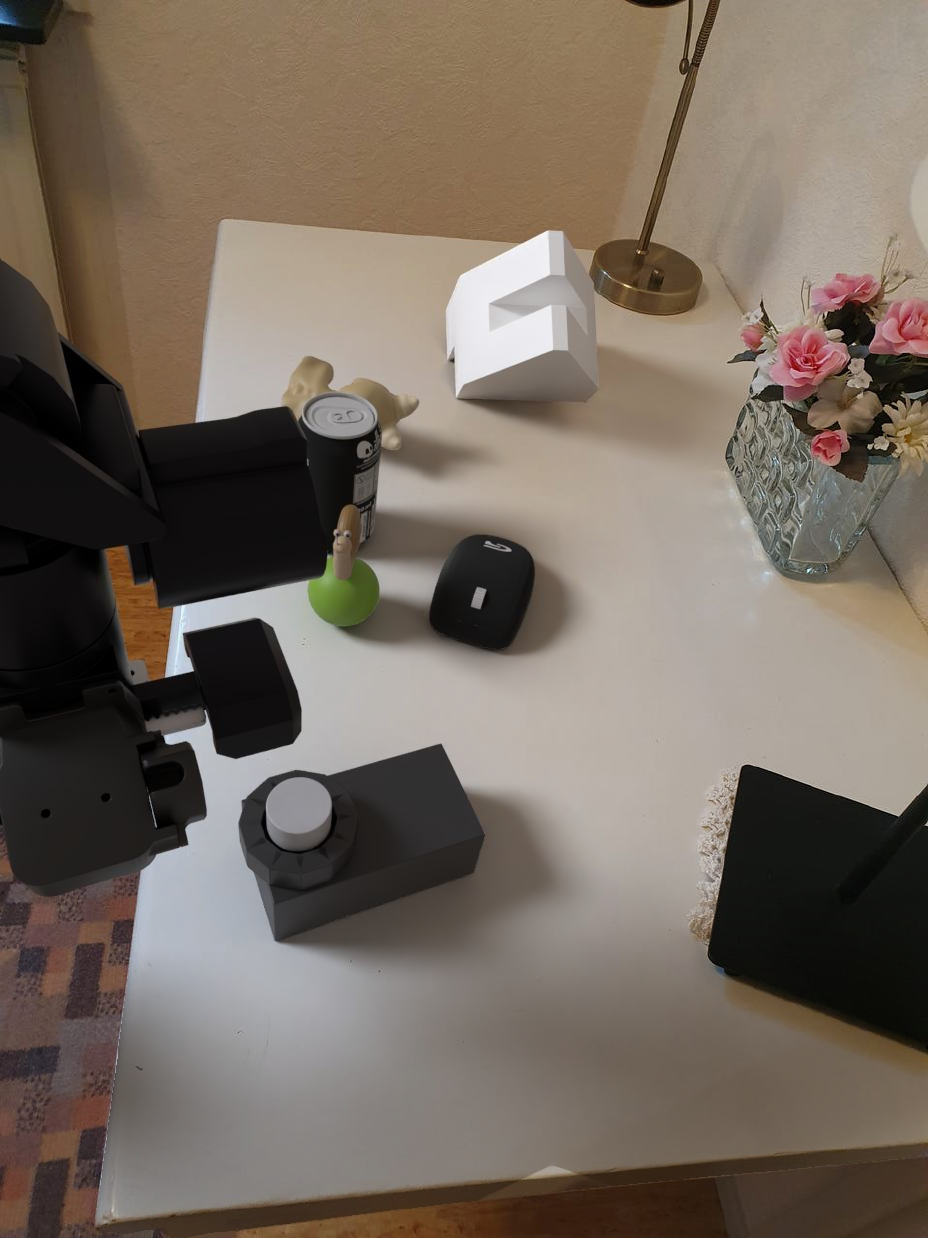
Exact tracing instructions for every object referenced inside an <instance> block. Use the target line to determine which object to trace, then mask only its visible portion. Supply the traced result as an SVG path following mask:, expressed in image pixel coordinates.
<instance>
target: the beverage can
mask: <svg viewBox="0 0 928 1238" xmlns="http://www.w3.org/2000/svg"><path fill="white" fill-rule="evenodd" d="M298 423H299V425H300V427H301V429H302V431H303V433H304V435H305V437H306V439H307V464H308V468H309V471H310V475H311V479H312V482H313V486H314V491H315V495H316V500H317V505H318V512H319V518H320V524H321V526H322V529H323V531H324V533H325V535H326V538H327V544H328V553H333V551H334V549H333V544H334V541H335V537H336V536H334V530H336V529H337V526H338V521H339V517H340V514H341V511H342V509H343V508H344V507H345V506H347V505H355V506H356V507H357V508H358V509H359V511H360V518H361V534H360V542H359V547H360V546H362V545H364V544H365V543H366V542H368V540H370V538H371V537H372V535H373V533H374V530H375V524H376V511H377V499H378V488H379V487H378V486H379V474H380V465H381V464H380V463H381V453H382V452H381V451H382V446H381V441H382V429H381V426H380V424H379V422H378V414H377V411H376V409H375V407H374V406H373V405H372V404H371V403H370V402H369V401H367V400H366V399H364V398H362V397H360V396H357V395H354V394H350V393H345V392H328V393H323V394H319V395H316V396H314V397H312V398H311V399H309V400H308V401H307V402H306V403H305V404H304V406H303V409H302V416H301V417H300V418H299V420H298Z"/></svg>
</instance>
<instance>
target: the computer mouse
mask: <svg viewBox="0 0 928 1238" xmlns="http://www.w3.org/2000/svg"><path fill="white" fill-rule="evenodd" d="M535 579H536V564H535V560H534V558H533V555H532V554H531V552H530V551H529V550H528V549H527V548H526V547H524V546H523V545H522V544H519V543H518V542H516V541H514V540H510V539H507V538H505V537H501V536H497V535H496V536H495V535H492V534H479V533H478V534H472V535H469V536H466V537H465V538H463V539H461V540H460V541H458V543H456V544H455V546H454V547H453V548H452V549H451V550H450V552H449V553H448V555H447V557H446V559H445V561H444V563H443V565H442V567H441V570H440V572H439V575H438V579H437V581H436V584H435V586H434V587H435V588H434V590H433V594H432V598H431V601H430V607H429V613H428V622H429V624H430V627H431V628H432V629H433V630H434V631H435V632H437V633H439V634H441V635H442V636H445V637H447V638H449V639H453V640H456V641H459V642H463V643H465V644H470V645H472V646H476V647H480V648H483V649H487V650H488V649H489V650H504V649H506V648H509V647H510V646H511V645H512V643H513V642H514V640H515V638H516V637H517V635H518V633H519V631H520V629H521V627H522V624H523V622H524V619H525V617H526V614H527V611H528V608H529V606H530V602H531V599H532V595H533V589H534V586H535Z"/></svg>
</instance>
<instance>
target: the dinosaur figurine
mask: <svg viewBox="0 0 928 1238" xmlns="http://www.w3.org/2000/svg"><path fill="white" fill-rule="evenodd" d="M334 375H335V370H334V366H333V365H332V364H331V363H330V362H328V361H326V360H323V359H320V358H318V357H316V356H313V355H305V356H304V357H303V358H301V361H300V362H299V363H298V364H297V366H296V368H295V369H294V370H293V372H292V373H291V375H290V377H289V384H288V387H287V389H286V390H285V391H284V392H283V394H282V396H281V406H280V407H283V406H288V407H289V408H290V409H292V410H293V412H294V414H295V416H296V419H297V421H298V420H299V418H300V417H301V416H302V409H303V406H304V404H305V403H306V402H307V401H308V400H309V399H311V398H312V397H314V396H316V395H319V394H323V393H328V392H345V393H350V394H354V395H357V396H360V397H362V398H364V399H366V400H367V401H369V402H370V403H371V404H372V405H373V406H374V407H375V409H376V411H377V414H378V422H379V424H380V426H381V429H382V441H381V448H384V449H385V450H389V451H397V450H399V449H400V448H401V447H402V445H403V444H402V438H401V434H400V431H399V430H398V428H397V425H398V423H399V422H400V421H401V420H403V419H405V418H407V417H409V416H411V415H412V414H414V412H415V411H416V410H417V409H418V408H419V405H420V399H419V398H418V397H416V396H413V395H408V394H394V393H392V392H390V390H389V389H388V388H387V387H386V386H385V385H383V384H382V383H379V382H377V381H375V380H372V379H369V378H365V377H356V378H355V379H353V380H352V382H351V383H350V384H347V385H345V386H343V387H341V388H340V389H338V390H334V389H332V388H330V387H329V385H330V384H331V383H332V381H333V380H334V377H335V376H334Z"/></svg>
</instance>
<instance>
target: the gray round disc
mask: <svg viewBox="0 0 928 1238" xmlns="http://www.w3.org/2000/svg"><path fill="white" fill-rule="evenodd" d="M331 816H332V800H331V796H330V794H329V792H328V791H327V789H326V788H325V787H324V786H323V785H322V784H320V783H319V782H317V781H315V780H313V779H310V778H304V777H297V778H291V779H288V780H285V781H283V782H281V783H280V784H278V785H277V786H276V787H275V788H274V789H273V790H272V791H271V793H270V794H269V796H268V799H267V802H266V819H267V830H268V833H269V836H270V837H271V839H272V840H273V841H274V842H275V843H276V844H277V845H278V846H280V847H281V848H283V849H286V850H289V851H296V852H299V851H306V850H310V849H312V848H314V847H316V846H318V845H319V844H320V843H321V842H323V841H324V839H325V838H326V837H327V835H328V833H329V831H330V827H331Z"/></svg>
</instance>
